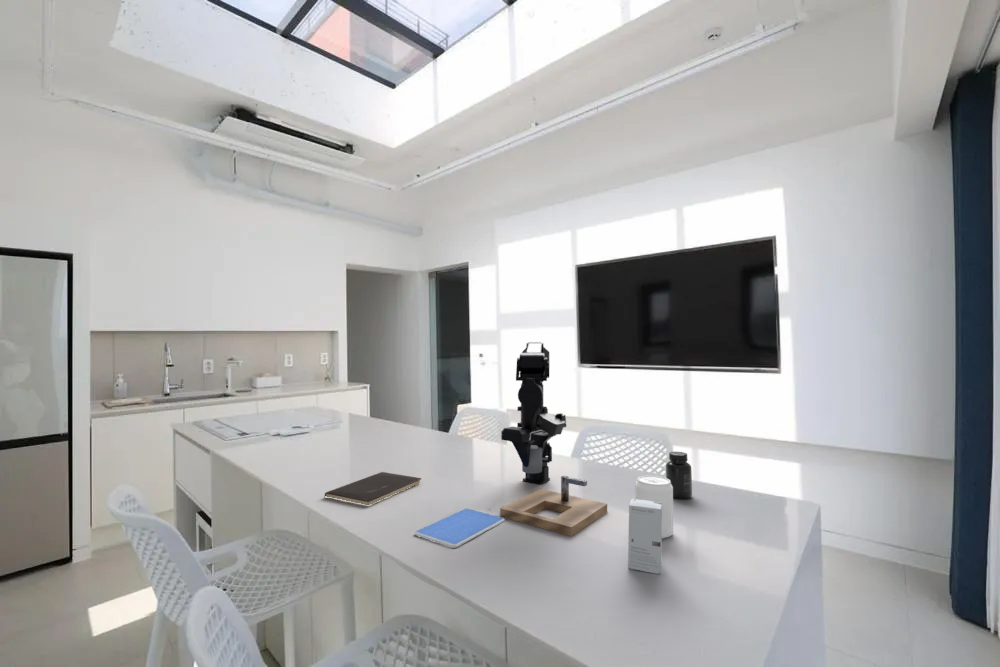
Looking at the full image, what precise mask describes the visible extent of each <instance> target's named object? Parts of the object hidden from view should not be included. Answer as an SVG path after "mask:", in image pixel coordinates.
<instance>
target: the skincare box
mask: <svg viewBox="0 0 1000 667" xmlns="http://www.w3.org/2000/svg"><path fill="white" fill-rule="evenodd" d="M628 514H629V515H628V543H627V544H628V546H627V548H628V552H627V553H628V554H627V558H628V560H627V569H629V570H630V569H632V570H636V571H641V572H646V573H652V574H656V575H659V574H661V568H662V552H663V551H662V548H663V546H662V542H663V541H662V539H663V538H662V503H659V502H652V501H647V500H638V499H635V498H631V500H630V502H629V505H628Z"/></svg>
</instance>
